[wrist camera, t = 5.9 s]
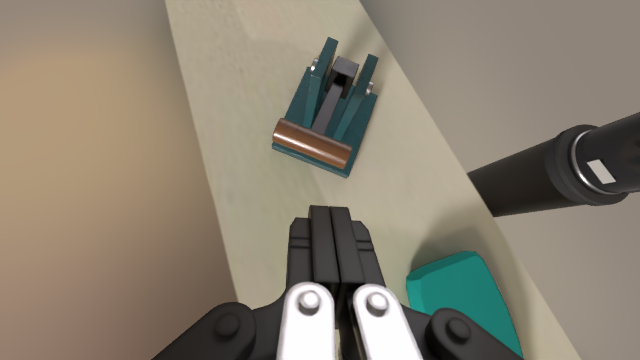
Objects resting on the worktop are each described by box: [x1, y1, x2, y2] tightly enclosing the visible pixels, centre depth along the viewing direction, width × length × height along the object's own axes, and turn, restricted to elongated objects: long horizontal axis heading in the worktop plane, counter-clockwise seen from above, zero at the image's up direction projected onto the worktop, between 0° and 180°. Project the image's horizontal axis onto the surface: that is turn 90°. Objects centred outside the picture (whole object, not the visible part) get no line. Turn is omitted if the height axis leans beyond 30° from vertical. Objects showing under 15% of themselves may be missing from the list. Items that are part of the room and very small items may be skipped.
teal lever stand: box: [272, 37, 379, 178], centre depth 30 cm, size 12×10×12 cm
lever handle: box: [273, 56, 359, 169], centre depth 23 cm, size 12×6×2 cm, turn 158°
